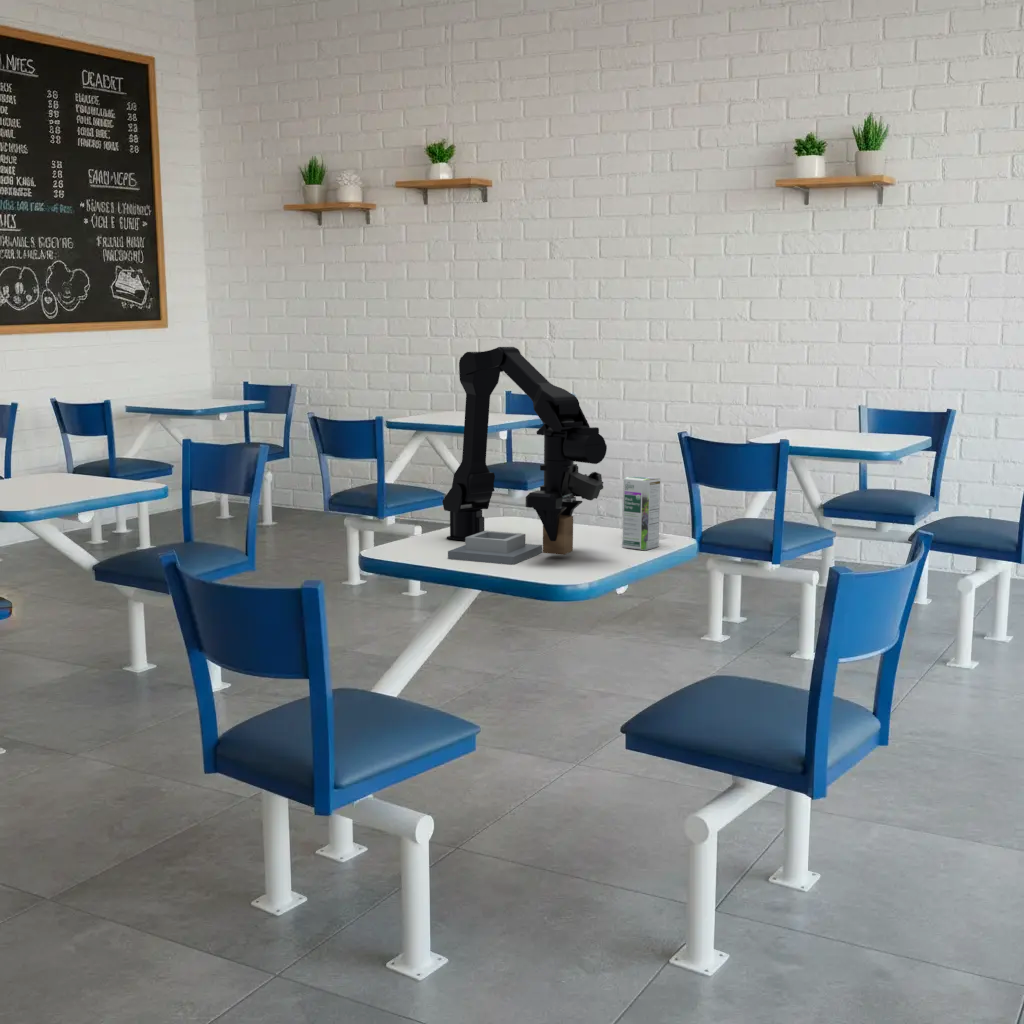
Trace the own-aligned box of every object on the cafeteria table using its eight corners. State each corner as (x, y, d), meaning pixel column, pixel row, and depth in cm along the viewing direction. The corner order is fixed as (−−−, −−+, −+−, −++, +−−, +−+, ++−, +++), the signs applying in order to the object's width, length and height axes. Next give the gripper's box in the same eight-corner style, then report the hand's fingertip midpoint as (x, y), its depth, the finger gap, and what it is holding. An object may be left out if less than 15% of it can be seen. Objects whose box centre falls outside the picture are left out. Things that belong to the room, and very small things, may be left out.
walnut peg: (542, 552, 237) (543, 517, 236) (551, 549, 241) (551, 514, 240) (564, 554, 235) (564, 519, 234) (572, 550, 239) (573, 515, 238)
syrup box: (621, 547, 250) (622, 477, 247) (636, 544, 254) (637, 474, 252) (645, 551, 246) (646, 479, 244) (659, 546, 251) (661, 476, 249)
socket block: (447, 558, 237) (447, 538, 237) (479, 547, 250) (479, 527, 249) (513, 564, 232) (513, 543, 231) (542, 552, 244) (542, 532, 244)
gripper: (580, 466, 224) (578, 550, 226) (614, 456, 241) (613, 534, 243) (524, 463, 228) (524, 545, 231) (562, 454, 245) (561, 530, 248)
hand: (557, 539), depth 238 cm, fingers closed on walnut peg, 4 cm apart
